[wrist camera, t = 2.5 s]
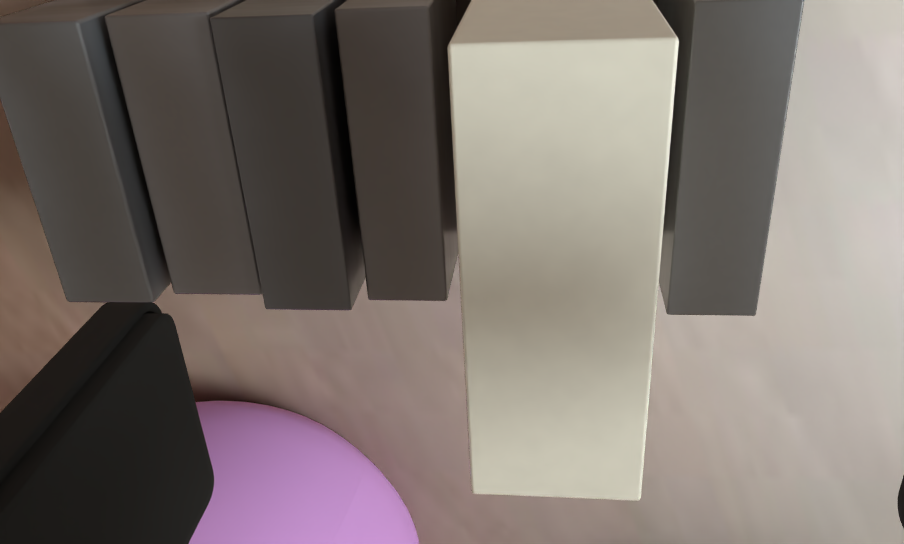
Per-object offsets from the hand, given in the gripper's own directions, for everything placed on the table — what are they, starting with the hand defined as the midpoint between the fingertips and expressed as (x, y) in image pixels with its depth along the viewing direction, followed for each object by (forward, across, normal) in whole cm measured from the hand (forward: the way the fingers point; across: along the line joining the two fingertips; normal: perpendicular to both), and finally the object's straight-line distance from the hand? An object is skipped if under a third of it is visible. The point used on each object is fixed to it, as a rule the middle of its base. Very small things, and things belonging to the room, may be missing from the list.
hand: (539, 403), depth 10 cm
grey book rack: (+15, +4, 0) cm, 15 cm away
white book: (+14, 0, 0) cm, 14 cm away
